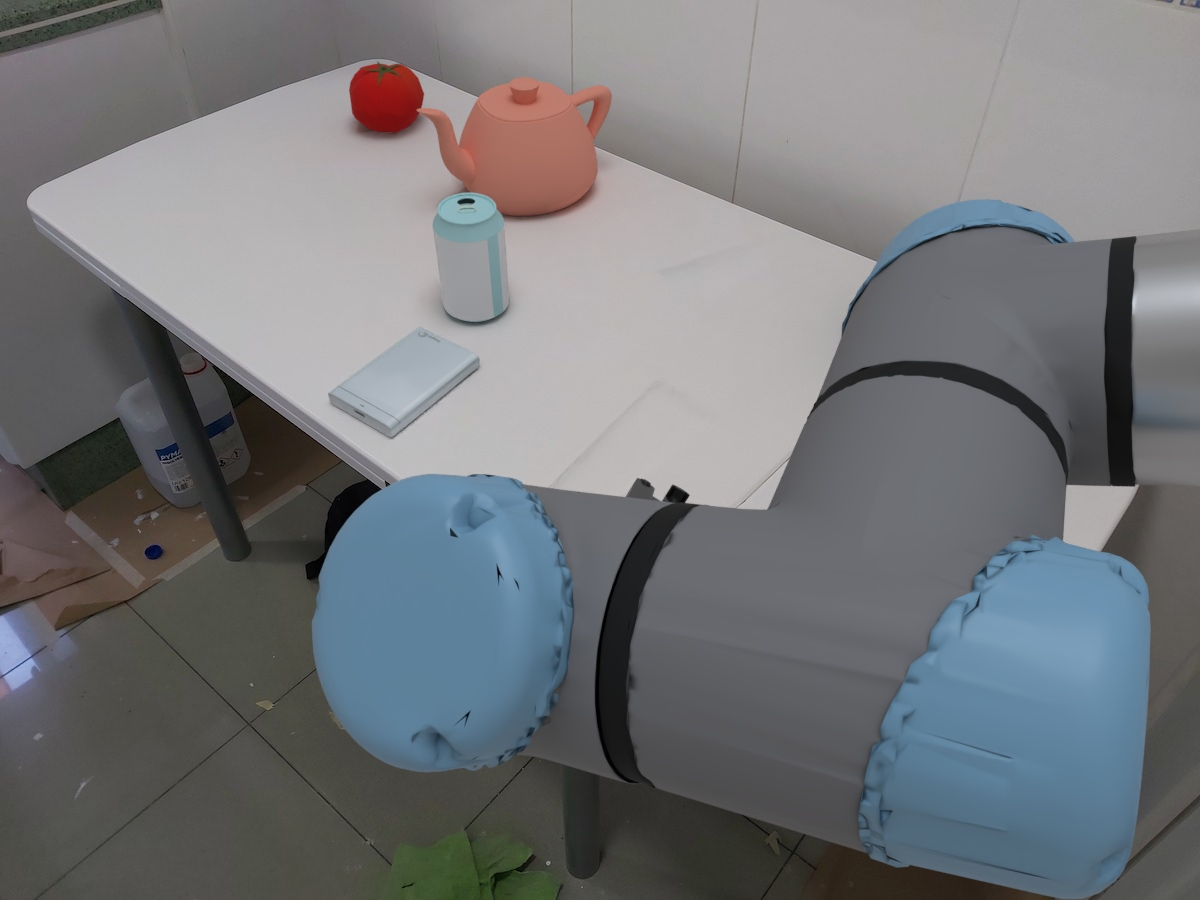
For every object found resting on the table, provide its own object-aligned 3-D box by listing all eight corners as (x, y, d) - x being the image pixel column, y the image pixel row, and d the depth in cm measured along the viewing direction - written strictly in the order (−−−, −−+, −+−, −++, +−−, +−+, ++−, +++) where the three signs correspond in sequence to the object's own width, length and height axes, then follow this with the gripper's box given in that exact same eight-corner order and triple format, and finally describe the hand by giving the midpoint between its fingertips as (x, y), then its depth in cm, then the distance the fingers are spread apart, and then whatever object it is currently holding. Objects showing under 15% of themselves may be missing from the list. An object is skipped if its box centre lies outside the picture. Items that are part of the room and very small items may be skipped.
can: (430, 306, 95) (415, 206, 86) (480, 279, 98) (470, 180, 90) (473, 335, 91) (462, 235, 83) (523, 306, 95) (517, 207, 86)
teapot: (456, 246, 103) (443, 137, 93) (405, 180, 113) (389, 76, 103) (640, 195, 111) (646, 90, 102) (577, 138, 121) (578, 38, 112)
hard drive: (418, 324, 90) (326, 390, 83) (479, 355, 87) (389, 426, 80) (420, 337, 91) (330, 403, 84) (480, 368, 88) (392, 439, 81)
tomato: (340, 128, 122) (328, 67, 116) (397, 103, 128) (388, 44, 122) (385, 150, 118) (374, 88, 112) (441, 123, 124) (434, 63, 118)
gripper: (419, 510, 41) (626, 532, 59) (883, 923, 29) (961, 791, 48) (498, 372, 40) (684, 438, 58) (1014, 743, 28) (1043, 679, 46)
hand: (809, 597), depth 53 cm, fingers open, 13 cm apart
